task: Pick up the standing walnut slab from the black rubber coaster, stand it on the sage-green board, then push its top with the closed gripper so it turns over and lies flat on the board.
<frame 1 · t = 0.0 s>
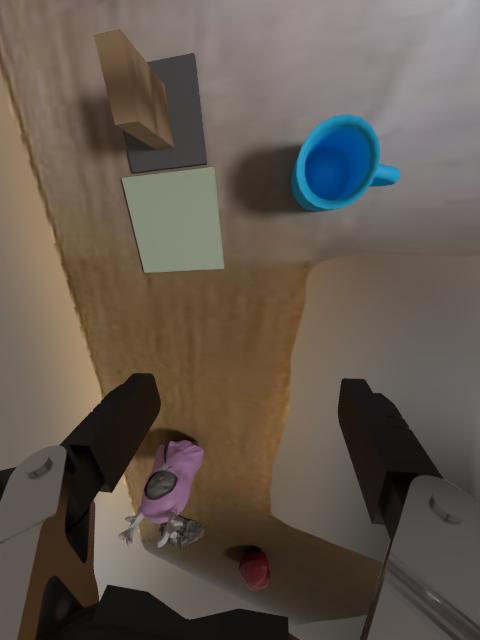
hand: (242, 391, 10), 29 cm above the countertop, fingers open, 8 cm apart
toy character: (184, 440, 56), on the countertop
coaster: (162, 120, 30), on the countertop
geode: (183, 527, 74), on the countertop
mug: (335, 180, 31), on the countertop
slab: (160, 118, 30), point 1 cm above the countertop, touching coaster
board: (176, 225, 35), on the countertop
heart: (254, 552, 74), on the countertop
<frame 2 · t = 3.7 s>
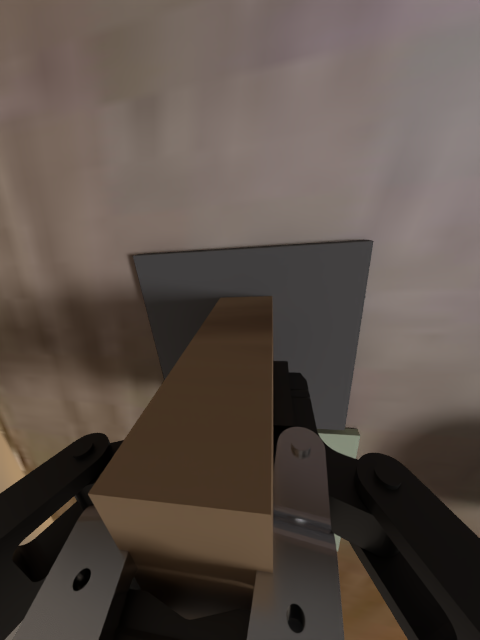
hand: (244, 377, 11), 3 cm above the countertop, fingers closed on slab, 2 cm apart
coaster: (251, 347, 13), on the countertop
slab: (249, 352, 12), point 1 cm above the countertop, touching coaster, gripper
board: (253, 486, 18), on the countertop
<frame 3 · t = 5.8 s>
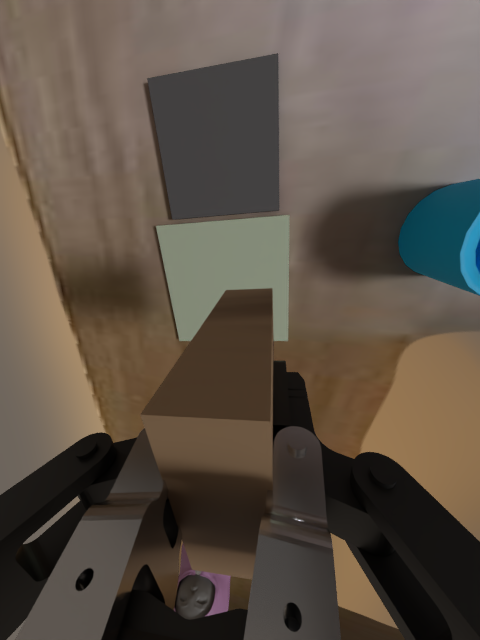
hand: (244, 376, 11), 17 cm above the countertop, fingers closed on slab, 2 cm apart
toy character: (214, 516, 47), on the countertop
coaster: (218, 150, 21), on the countertop
mug: (465, 234, 21), on the countertop
slab: (252, 340, 14), point 13 cm above the countertop, touching gripper
board: (227, 286, 26), on the countertop
when the fingers open (4 cm above the countertop, at t = 8.3 s): slab stays where it is, resting on board.
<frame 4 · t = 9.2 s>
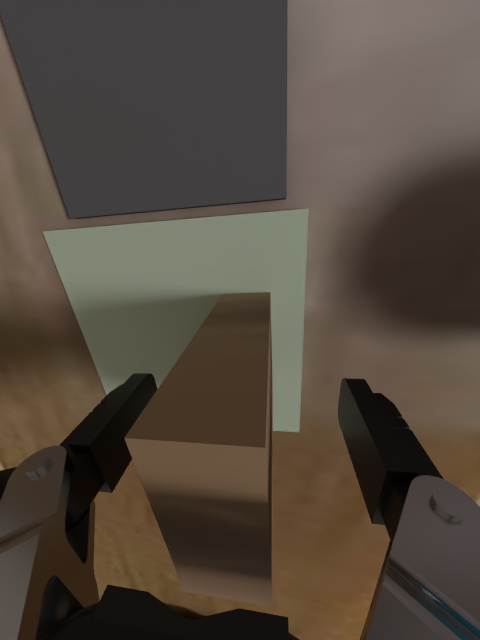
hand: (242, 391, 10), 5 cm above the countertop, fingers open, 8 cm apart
coaster: (149, 60, 9), on the countertop
slab: (249, 345, 13), resting on board
board: (189, 340, 14), on the countertop
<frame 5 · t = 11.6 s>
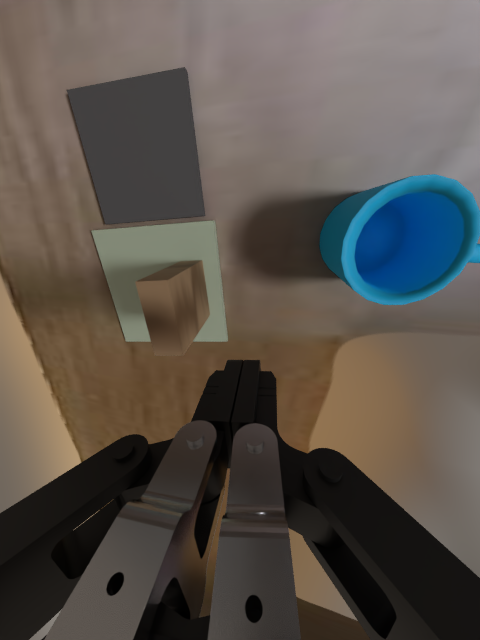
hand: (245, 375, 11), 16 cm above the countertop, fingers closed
coaster: (142, 158, 22), on the countertop
mug: (381, 239, 22), on the countertop
slab: (195, 289, 26), resting on board
board: (165, 288, 27), on the countertop
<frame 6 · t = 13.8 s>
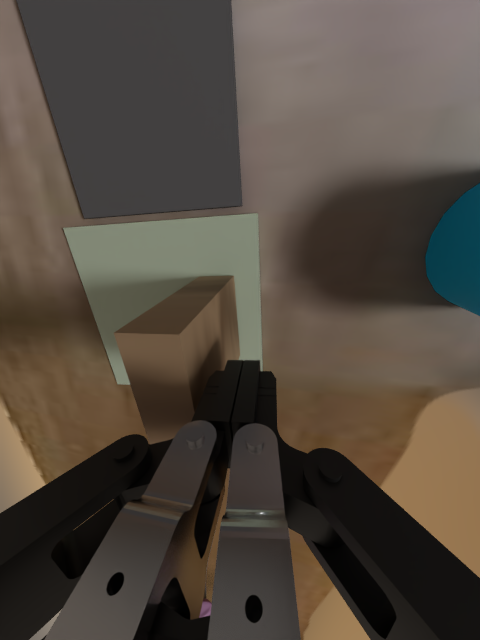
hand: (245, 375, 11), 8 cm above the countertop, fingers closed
coaster: (143, 108, 13), on the countertop
slab: (220, 317, 17), point 1 cm above the countertop, touching board, gripper
board: (175, 314, 18), on the countertop
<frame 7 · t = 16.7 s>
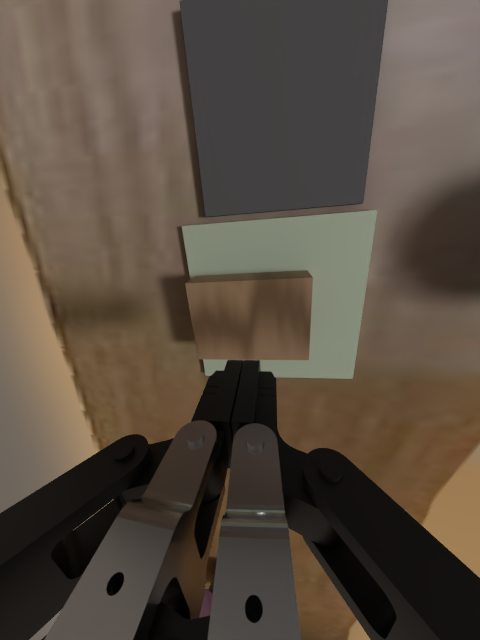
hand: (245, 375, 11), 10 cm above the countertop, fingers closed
coaster: (279, 115, 14), on the countertop
slab: (308, 315, 18), point 2 cm above the countertop, tilted 90°, touching board
board: (274, 307, 20), on the countertop
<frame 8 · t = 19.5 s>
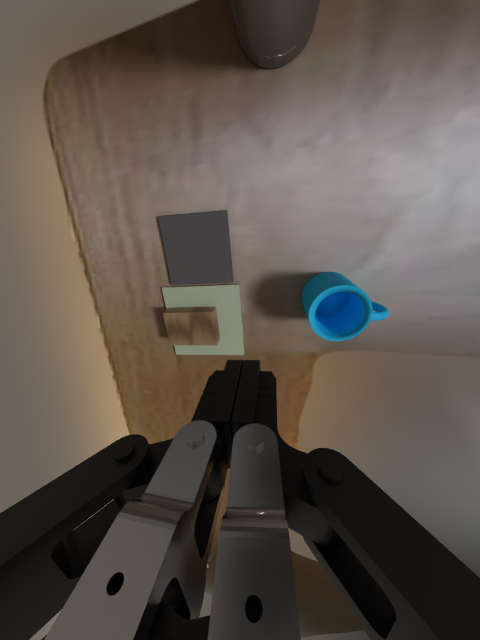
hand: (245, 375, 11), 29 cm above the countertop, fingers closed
coaster: (197, 250, 37), on the countertop
mug: (338, 297, 38), on the countertop
slab: (216, 326, 41), point 2 cm above the countertop, tilted 90°, touching board
board: (205, 321, 43), on the countertop
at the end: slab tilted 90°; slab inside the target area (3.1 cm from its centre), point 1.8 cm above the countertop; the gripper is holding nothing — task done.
